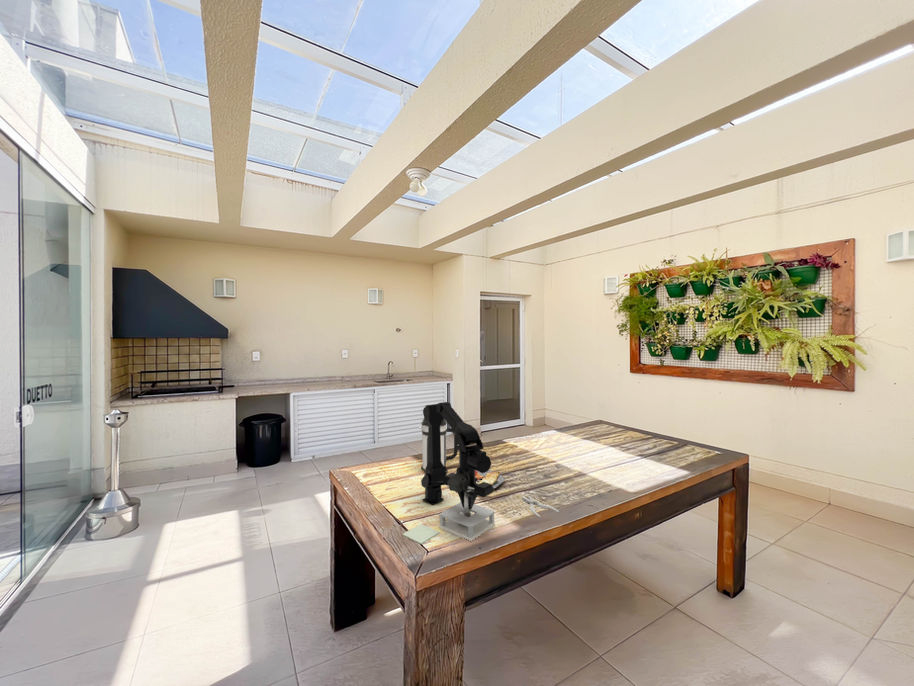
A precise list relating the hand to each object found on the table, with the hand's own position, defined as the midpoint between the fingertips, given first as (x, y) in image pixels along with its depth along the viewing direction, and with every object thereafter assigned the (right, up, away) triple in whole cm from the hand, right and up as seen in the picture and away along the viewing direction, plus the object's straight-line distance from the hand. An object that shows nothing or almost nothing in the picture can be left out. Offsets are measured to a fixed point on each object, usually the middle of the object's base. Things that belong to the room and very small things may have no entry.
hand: (467, 508), depth 130 cm
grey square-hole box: (0, -6, 0) cm, 6 cm away
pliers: (+28, -7, +16) cm, 33 cm away
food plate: (+6, -7, +41) cm, 42 cm away
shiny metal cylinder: (0, -4, 0) cm, 4 cm away
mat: (-16, -6, -5) cm, 18 cm away
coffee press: (-14, -7, +57) cm, 59 cm away
